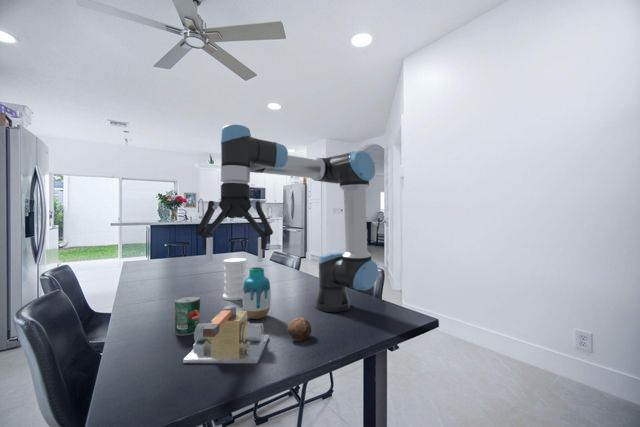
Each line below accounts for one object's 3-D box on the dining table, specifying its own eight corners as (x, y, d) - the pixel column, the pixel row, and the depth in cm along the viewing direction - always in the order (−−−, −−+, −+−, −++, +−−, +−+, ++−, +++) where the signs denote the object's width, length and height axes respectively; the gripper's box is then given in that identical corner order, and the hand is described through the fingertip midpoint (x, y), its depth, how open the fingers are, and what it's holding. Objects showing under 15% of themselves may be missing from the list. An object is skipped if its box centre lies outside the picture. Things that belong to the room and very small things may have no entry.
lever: (225, 313, 82) (225, 305, 82) (237, 313, 82) (237, 305, 82) (201, 338, 65) (201, 328, 66) (216, 338, 65) (216, 328, 65)
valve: (268, 338, 88) (268, 307, 88) (257, 363, 73) (257, 326, 73) (206, 337, 88) (206, 307, 88) (183, 363, 73) (183, 325, 73)
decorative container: (229, 292, 139) (229, 257, 139) (251, 293, 137) (251, 258, 138) (218, 299, 128) (218, 261, 128) (241, 300, 126) (241, 262, 126)
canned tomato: (175, 328, 96) (175, 296, 96) (200, 324, 99) (200, 294, 99) (173, 337, 88) (173, 303, 88) (200, 333, 91) (200, 300, 92)
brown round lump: (287, 321, 93) (293, 310, 90) (308, 329, 94) (315, 318, 91) (281, 342, 86) (287, 330, 83) (304, 350, 87) (311, 339, 84)
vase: (264, 324, 99) (264, 271, 99) (237, 321, 101) (237, 270, 101) (274, 313, 110) (274, 266, 110) (250, 311, 112) (250, 265, 112)
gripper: (282, 185, 78) (282, 259, 78) (194, 184, 77) (193, 259, 77) (280, 182, 71) (279, 263, 71) (182, 181, 70) (181, 264, 69)
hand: (234, 261), depth 74 cm, fingers open, 13 cm apart
